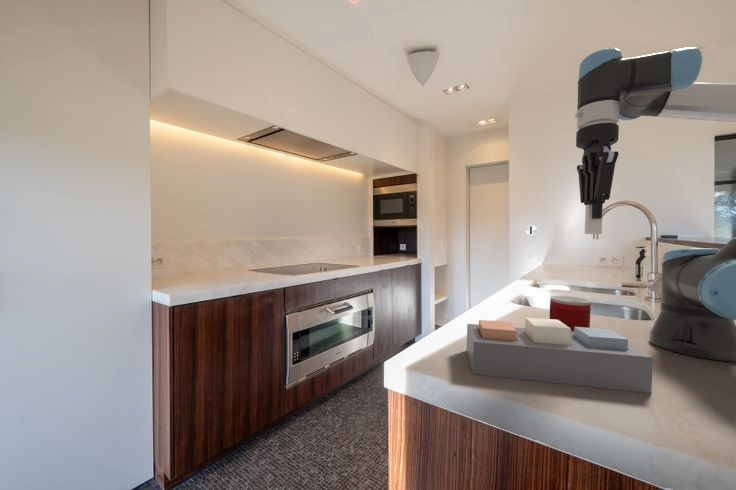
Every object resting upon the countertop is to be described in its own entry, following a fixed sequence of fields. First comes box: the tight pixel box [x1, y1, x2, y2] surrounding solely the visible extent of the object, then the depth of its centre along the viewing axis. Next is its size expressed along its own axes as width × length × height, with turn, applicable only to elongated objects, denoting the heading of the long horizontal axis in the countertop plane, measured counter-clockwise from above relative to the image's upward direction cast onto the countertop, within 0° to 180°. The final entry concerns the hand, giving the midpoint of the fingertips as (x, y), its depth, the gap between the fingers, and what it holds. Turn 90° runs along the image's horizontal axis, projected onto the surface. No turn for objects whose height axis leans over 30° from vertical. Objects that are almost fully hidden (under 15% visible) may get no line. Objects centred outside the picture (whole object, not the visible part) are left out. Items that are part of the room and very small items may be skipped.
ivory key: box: [524, 317, 571, 345], centre depth 59 cm, size 6×6×5 cm
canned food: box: [549, 295, 591, 332], centre depth 73 cm, size 8×8×11 cm
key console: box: [466, 323, 654, 394], centre depth 59 cm, size 28×12×6 cm, turn 77°
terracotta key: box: [478, 319, 517, 341], centre depth 61 cm, size 6×6×5 cm
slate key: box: [574, 327, 629, 350], centre depth 57 cm, size 6×6×5 cm
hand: (593, 233), depth 68 cm, fingers closed
